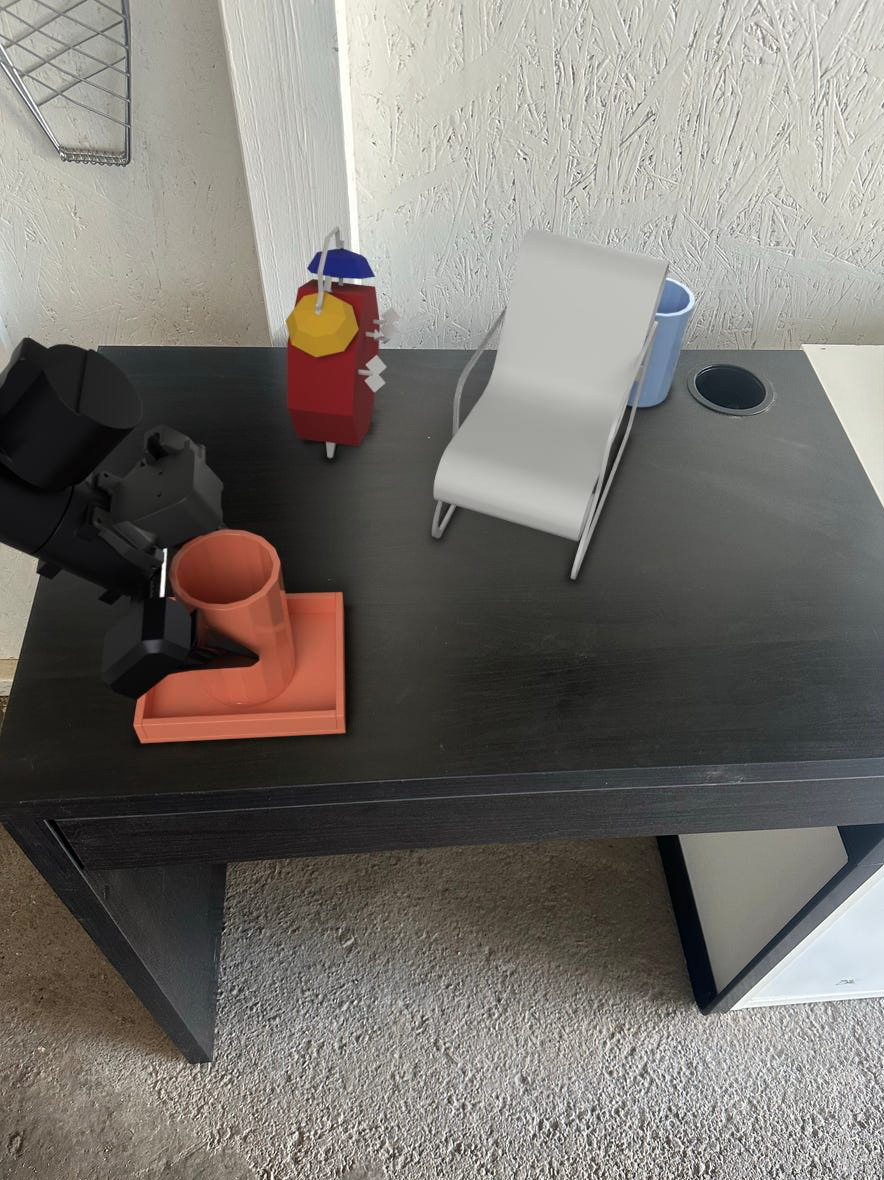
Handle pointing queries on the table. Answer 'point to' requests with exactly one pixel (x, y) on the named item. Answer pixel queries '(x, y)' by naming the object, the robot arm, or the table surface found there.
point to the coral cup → (239, 611)
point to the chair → (554, 388)
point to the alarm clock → (335, 349)
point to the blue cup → (665, 344)
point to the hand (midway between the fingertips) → (255, 611)
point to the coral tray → (299, 710)
